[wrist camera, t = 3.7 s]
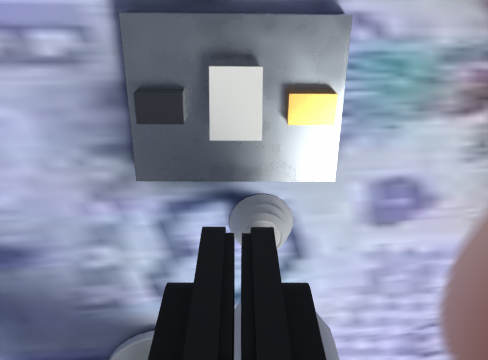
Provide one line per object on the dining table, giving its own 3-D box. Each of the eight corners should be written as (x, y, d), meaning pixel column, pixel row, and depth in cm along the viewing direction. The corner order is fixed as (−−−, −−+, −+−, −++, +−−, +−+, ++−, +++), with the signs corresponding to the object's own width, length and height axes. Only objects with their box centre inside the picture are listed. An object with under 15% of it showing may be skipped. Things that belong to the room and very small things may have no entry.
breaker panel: (329, 170, 32) (338, 188, 29) (142, 170, 32) (132, 188, 29) (344, 13, 27) (357, 16, 24) (126, 11, 27) (113, 14, 24)
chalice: (282, 167, 32) (330, 358, 15) (321, 234, 34) (398, 462, 18) (199, 209, 33) (160, 428, 17) (242, 272, 35) (245, 515, 19)
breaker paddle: (260, 139, 27) (261, 140, 26) (211, 138, 27) (209, 140, 26) (261, 69, 27) (262, 66, 25) (210, 68, 26) (208, 66, 25)
